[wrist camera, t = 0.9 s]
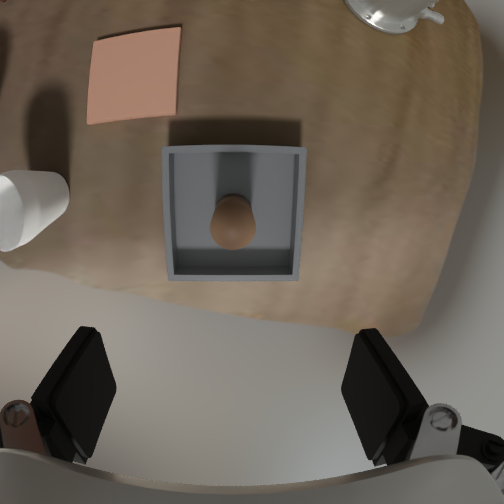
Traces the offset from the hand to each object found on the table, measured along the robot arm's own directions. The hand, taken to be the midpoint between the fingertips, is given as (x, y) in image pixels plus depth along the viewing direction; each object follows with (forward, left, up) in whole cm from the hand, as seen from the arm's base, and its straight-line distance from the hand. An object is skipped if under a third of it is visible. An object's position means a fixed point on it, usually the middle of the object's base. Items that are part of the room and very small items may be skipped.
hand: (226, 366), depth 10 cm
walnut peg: (0, 0, -27) cm, 27 cm away
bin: (0, 0, -28) cm, 28 cm away
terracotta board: (+13, -18, -28) cm, 36 cm away
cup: (+26, -3, -28) cm, 39 cm away
